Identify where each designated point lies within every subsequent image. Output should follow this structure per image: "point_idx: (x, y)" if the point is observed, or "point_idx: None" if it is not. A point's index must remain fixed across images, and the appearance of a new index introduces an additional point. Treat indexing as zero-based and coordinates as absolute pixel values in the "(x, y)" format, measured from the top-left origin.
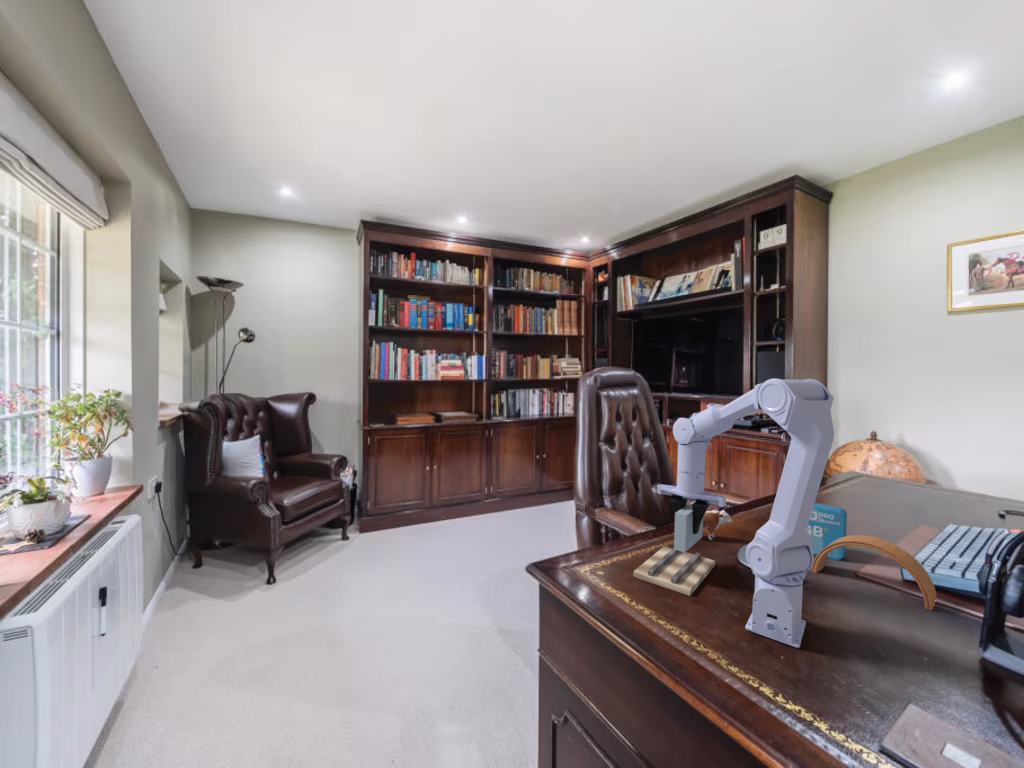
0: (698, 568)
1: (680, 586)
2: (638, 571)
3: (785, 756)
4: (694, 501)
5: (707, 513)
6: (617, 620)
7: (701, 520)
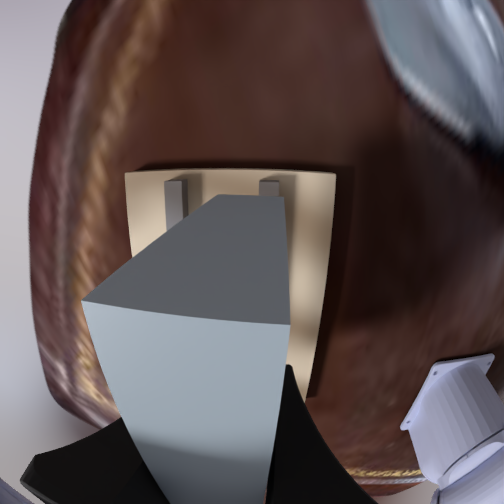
0: (296, 289)
1: None
2: None
3: (392, 494)
4: (101, 301)
5: None
6: None
7: (309, 418)
